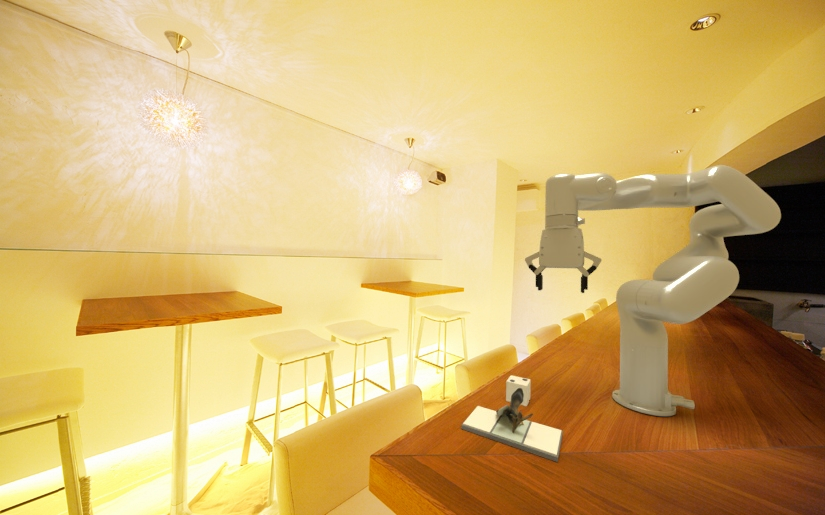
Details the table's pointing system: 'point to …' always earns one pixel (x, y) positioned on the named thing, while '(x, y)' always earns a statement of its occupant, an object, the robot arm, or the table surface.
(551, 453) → the game board
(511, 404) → the eagle figurine
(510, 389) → the die
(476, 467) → the table surface
